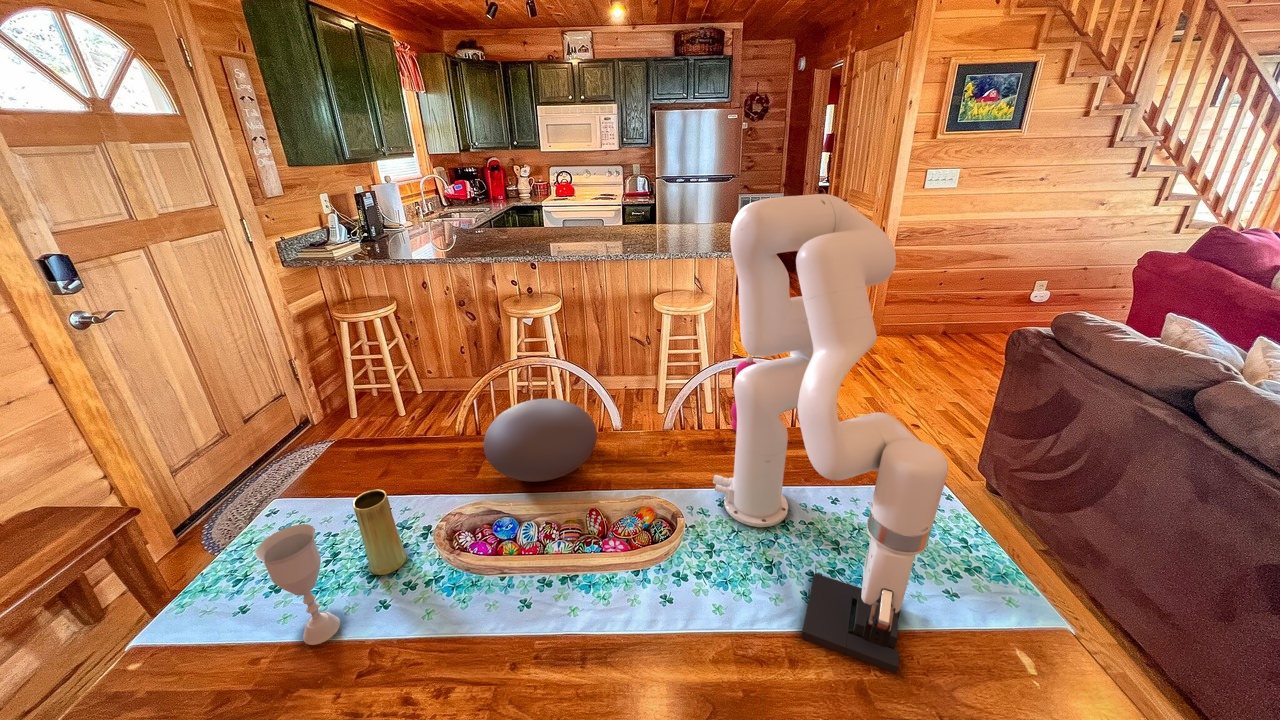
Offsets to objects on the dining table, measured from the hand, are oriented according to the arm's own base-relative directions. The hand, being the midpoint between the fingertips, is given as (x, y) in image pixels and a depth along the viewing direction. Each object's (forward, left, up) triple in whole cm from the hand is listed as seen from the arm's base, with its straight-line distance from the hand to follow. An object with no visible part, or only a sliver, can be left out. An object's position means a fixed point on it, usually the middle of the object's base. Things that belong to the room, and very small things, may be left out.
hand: (876, 614), depth 76 cm
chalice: (-77, -36, -3) cm, 85 cm away
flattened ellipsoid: (-70, +14, -3) cm, 72 cm away
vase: (-79, -22, -3) cm, 82 cm away
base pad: (-3, 0, -3) cm, 5 cm away
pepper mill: (-33, +48, -3) cm, 58 cm away
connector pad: (0, 0, -3) cm, 3 cm away
